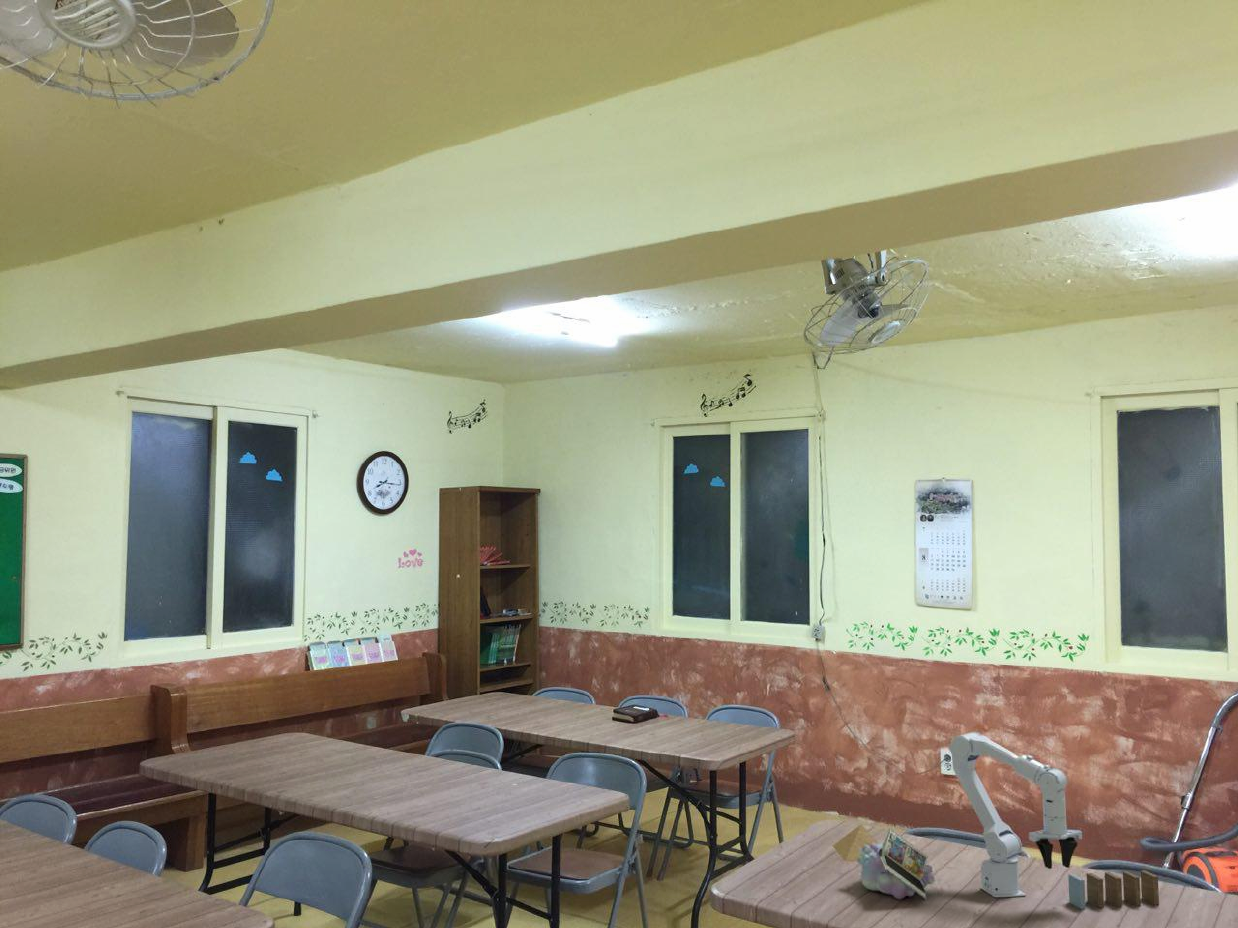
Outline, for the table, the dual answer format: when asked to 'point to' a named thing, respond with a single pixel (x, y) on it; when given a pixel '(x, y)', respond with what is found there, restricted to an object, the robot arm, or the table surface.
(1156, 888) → the domino
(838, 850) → the model pyramid
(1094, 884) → the domino
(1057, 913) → the table surface
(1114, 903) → the domino
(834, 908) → the table surface
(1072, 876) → the domino
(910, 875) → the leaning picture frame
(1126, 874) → the domino
